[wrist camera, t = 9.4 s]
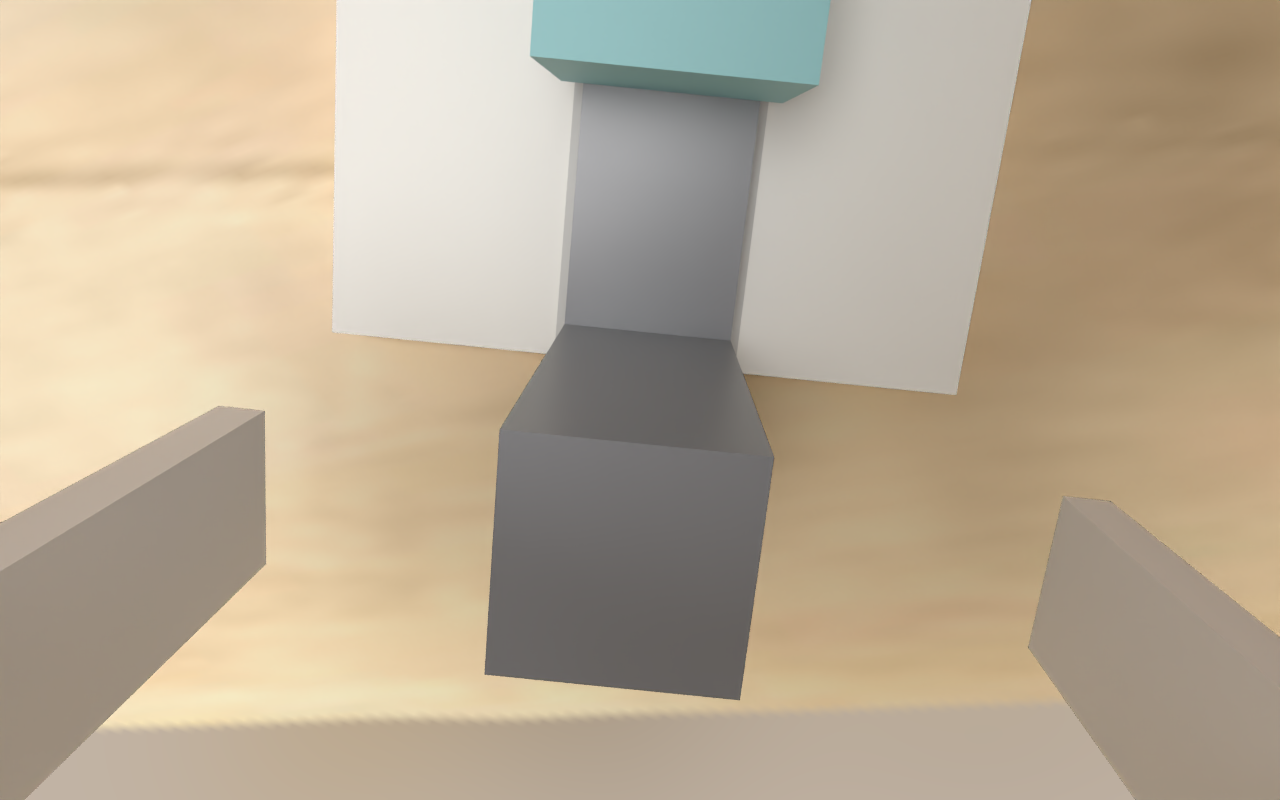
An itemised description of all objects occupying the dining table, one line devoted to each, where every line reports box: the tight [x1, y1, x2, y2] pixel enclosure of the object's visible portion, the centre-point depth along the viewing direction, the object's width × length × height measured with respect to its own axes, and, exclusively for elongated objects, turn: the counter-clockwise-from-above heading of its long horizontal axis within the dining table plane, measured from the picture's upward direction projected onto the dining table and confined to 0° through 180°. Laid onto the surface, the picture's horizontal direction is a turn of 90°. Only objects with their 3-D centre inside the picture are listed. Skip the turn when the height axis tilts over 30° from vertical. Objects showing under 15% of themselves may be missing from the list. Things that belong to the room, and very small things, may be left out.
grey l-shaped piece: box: [485, 83, 774, 700], centre depth 17 cm, size 4×18×10 cm, turn 174°
